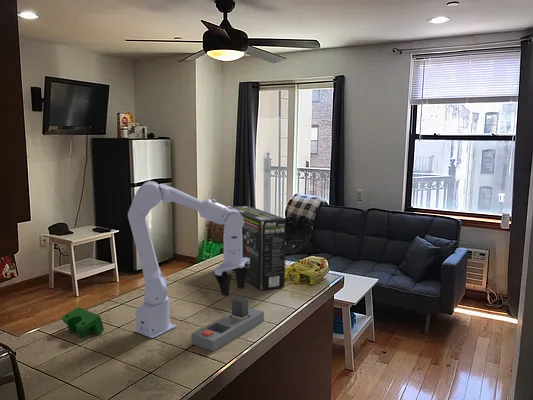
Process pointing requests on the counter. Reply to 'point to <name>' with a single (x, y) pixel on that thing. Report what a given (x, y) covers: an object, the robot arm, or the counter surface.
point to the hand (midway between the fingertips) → (233, 291)
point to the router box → (264, 247)
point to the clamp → (83, 322)
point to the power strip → (225, 330)
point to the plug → (240, 308)
